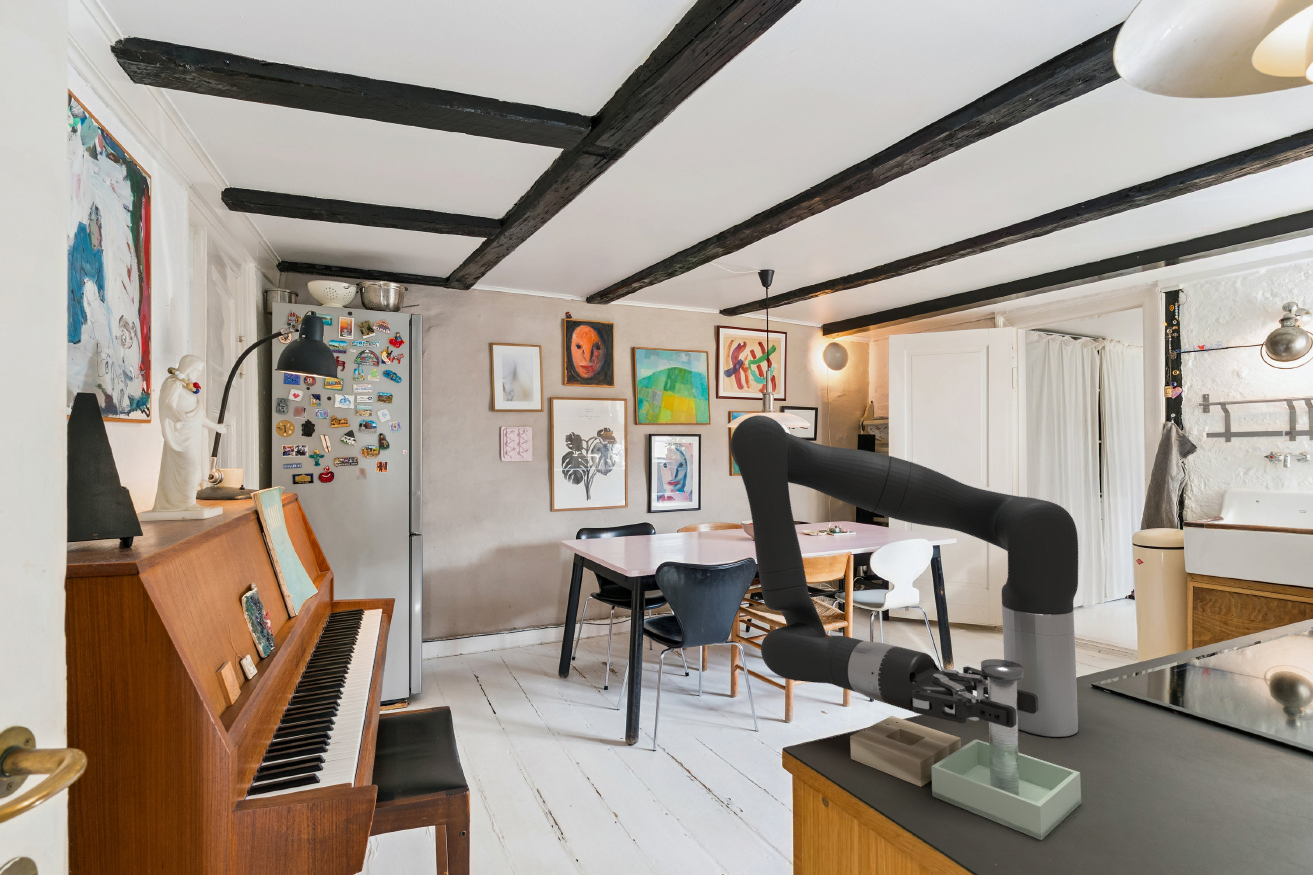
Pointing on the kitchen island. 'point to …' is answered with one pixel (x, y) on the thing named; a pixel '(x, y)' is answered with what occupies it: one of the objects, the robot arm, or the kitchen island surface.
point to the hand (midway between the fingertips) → (1025, 710)
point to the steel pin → (1003, 737)
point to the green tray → (1033, 812)
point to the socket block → (902, 749)
